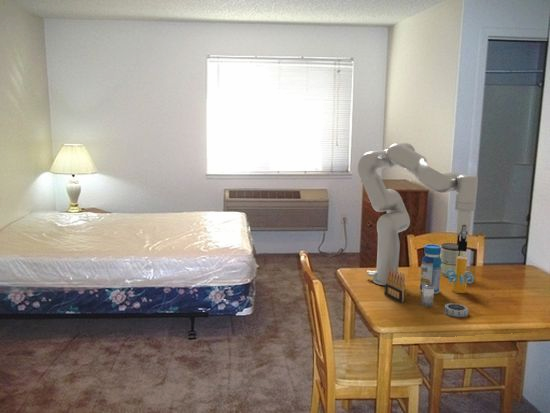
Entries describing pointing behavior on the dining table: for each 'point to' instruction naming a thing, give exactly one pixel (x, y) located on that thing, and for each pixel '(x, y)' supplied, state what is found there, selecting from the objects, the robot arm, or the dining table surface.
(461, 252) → the coffee can
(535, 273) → the dining table surface
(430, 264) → the blue lidded canister
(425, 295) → the silver metal cylinder
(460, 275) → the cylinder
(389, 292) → the ammunition clip
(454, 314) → the duct flange
